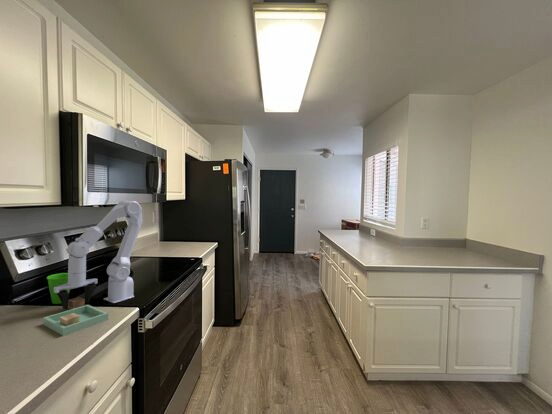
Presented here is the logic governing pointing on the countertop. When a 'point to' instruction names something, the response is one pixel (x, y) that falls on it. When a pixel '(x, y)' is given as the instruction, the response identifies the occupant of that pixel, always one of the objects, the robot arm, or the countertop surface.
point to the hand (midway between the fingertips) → (76, 305)
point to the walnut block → (76, 303)
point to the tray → (86, 319)
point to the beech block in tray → (69, 319)
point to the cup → (54, 282)
